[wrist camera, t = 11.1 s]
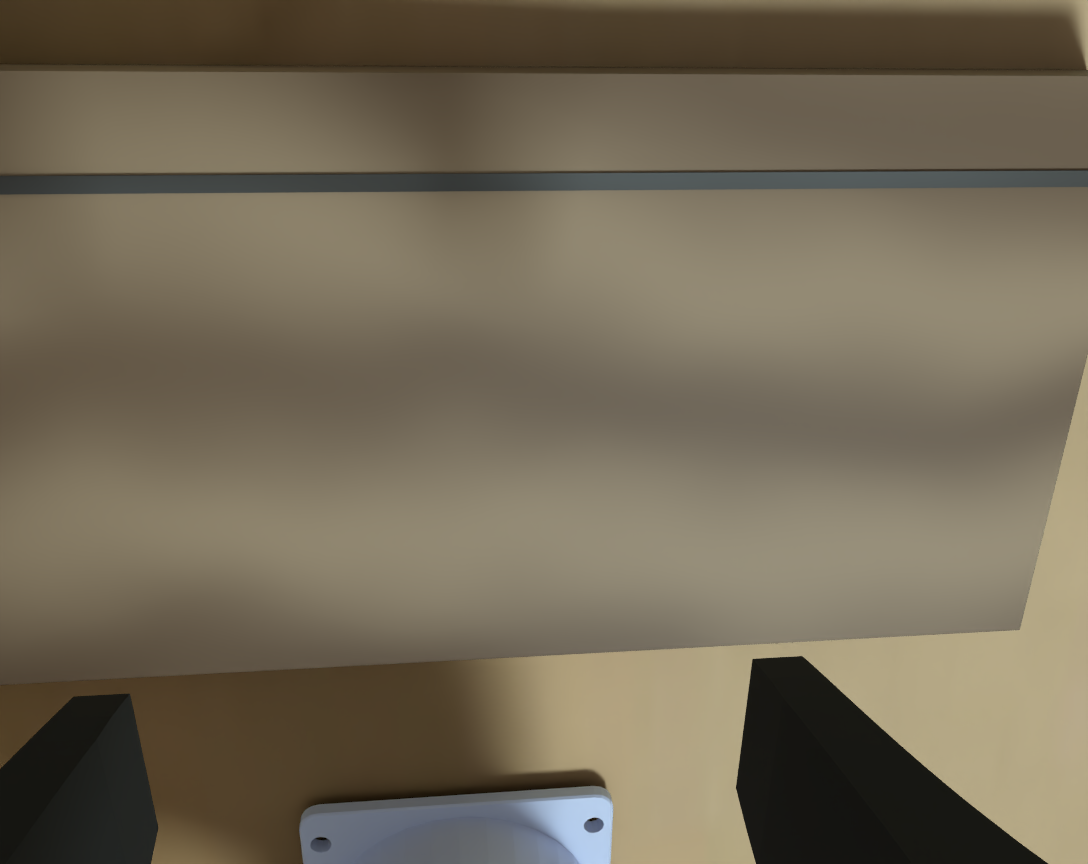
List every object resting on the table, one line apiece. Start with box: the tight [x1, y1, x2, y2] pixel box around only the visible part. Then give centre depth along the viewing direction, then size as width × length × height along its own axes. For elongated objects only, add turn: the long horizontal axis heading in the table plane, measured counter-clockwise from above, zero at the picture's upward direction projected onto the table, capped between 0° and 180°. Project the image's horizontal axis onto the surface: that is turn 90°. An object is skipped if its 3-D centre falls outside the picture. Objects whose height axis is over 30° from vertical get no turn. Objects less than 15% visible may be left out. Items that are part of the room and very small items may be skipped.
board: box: [0, 64, 1088, 685], centre depth 19 cm, size 12×30×2 cm, turn 90°
